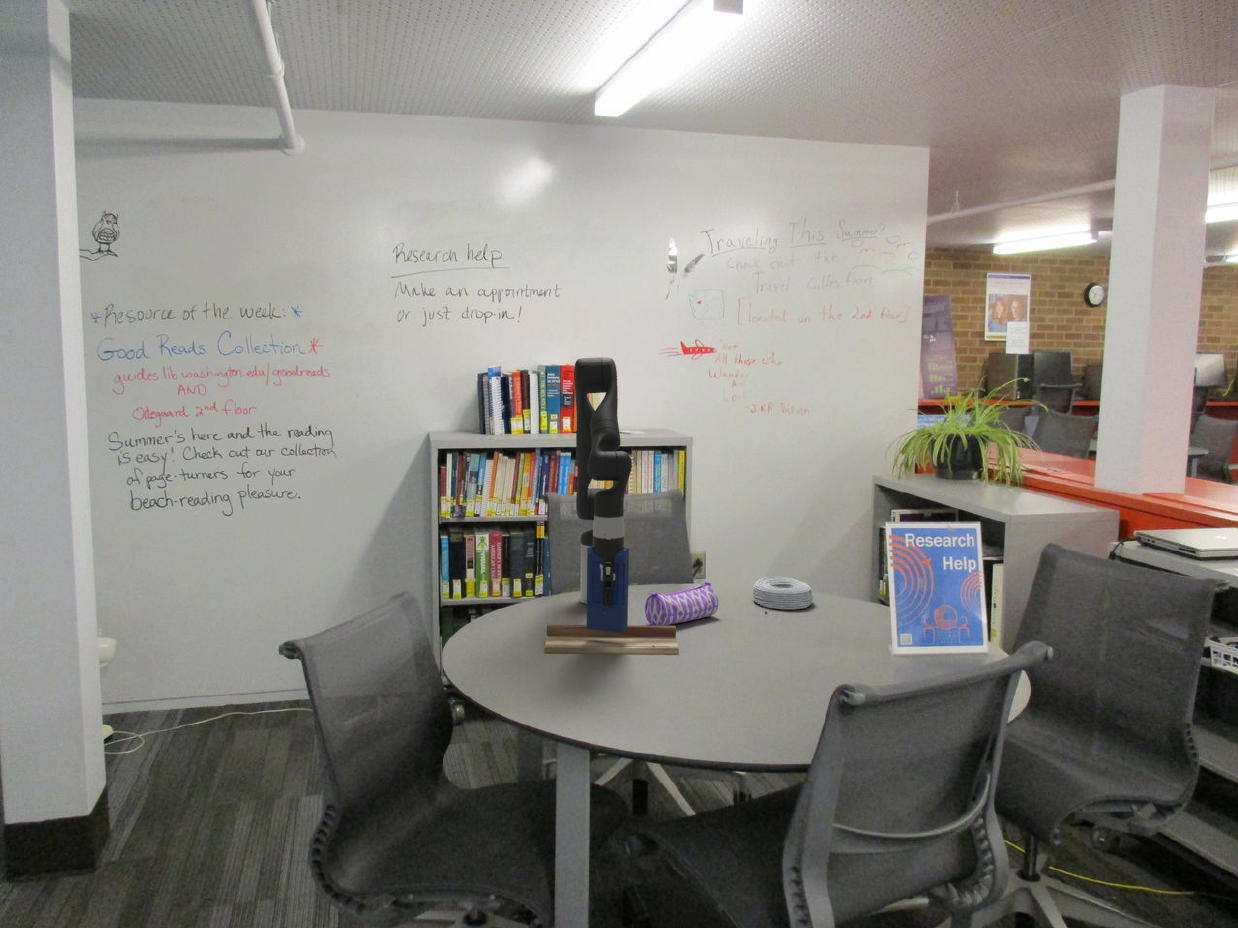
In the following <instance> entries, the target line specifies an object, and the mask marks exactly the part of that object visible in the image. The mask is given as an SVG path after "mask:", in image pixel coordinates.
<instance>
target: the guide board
mask: <svg viewBox="0 0 1238 928" xmlns="http://www.w3.org/2000/svg"><path fill="white" fill-rule="evenodd" d="M676 626H677V625H666V626H653V625H644V624H643V625H642V624H641V625H638V624H637V625H636V624H635V625H633V624H632V625H630V624H628V628H627V629H626V630H625V631H624V632H616V631H606V630H596V629H587V628H586V627H587V624H547V625H546V637H545V638H546V639H545V644H544V653H545V652H564V653H563V654H567V653H566V652H573V653H572V654H642V655H643V654H651V655H652V654H654V655H655V654H656V655H657V654H659V655H660V654H662V655H663V654H665V655H667V654H668V655H672V654H673V655H675V654H676V655H678V654H679V652H680V651H679V650H680V648H679V644H678V640H677V627H676ZM574 652H576V653H574Z"/></svg>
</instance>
